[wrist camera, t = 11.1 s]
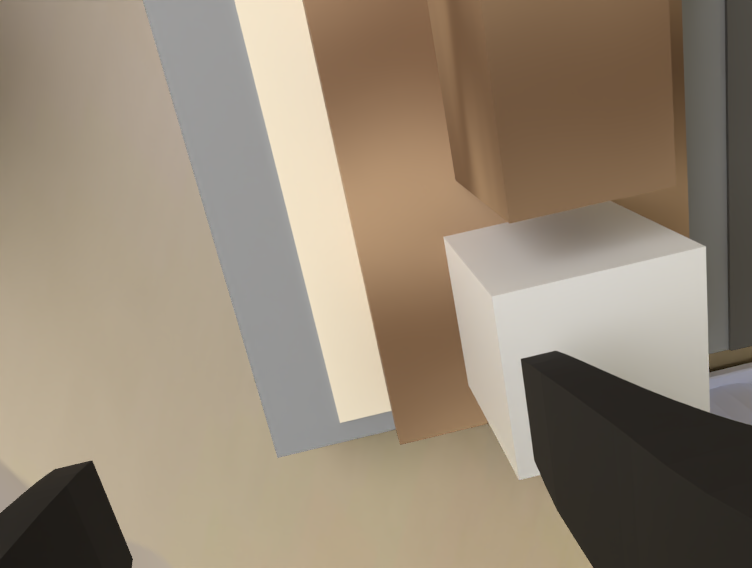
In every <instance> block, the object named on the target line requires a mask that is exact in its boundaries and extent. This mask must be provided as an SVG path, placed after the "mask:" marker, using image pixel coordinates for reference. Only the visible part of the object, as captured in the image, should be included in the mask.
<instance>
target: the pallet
mask: <svg viewBox="0 0 752 568" xmlns="http://www.w3.org/2000/svg"><path fill="white" fill-rule="evenodd" d="M302 2H303V7H304V11H305V16H306V20H307V25H308V30H309V34H310V39H311V43H312V48H313V53H314V57H315V62H316V66H317V71H318V75H319V80H320V85H321V89H322V94H323V98H324V103H325V108H326V112H327V117H328V121H329V126H330V130H331V135H332V140H333V144H334V149H335V153H336V158H337V163H338V167H339V172H340V176H341V181H342V186H343V190H344V195H345V199H346V204H347V208H348V213H349V218H350V222H351V227H352V231H353V236H354V241H355V245H356V250H357V254H358V259H359V264H360V268H361V273H362V277H363V282H364V286H365V291H366V296H367V300H368V305H369V309H370V314H371V319H372V323H373V328H374V332H375V337H376V341H377V346H378V351H379V355H380V360H381V364H382V369H383V374H384V378H385V383H386V387H387V392H388V397H389V401H390V406H391V410H392V415H393V419H394V424H395V428H396V431H397V435H398V438H399V442H400V445H401V444H406V443H410V442H414V441H418V440H422V439H426V438H430V437H434V436H439V435H443V434H447V433H451V432H455V431H459V430H463V429H468V428H472V427H476V426H480V425H484V424H488V421H487V419H486V417H485V415H484V413H483V411H482V410H481V408H480V406H479V404H478V402H477V400H476V398H475V396H474V395H473V393H472V391H471V389H470V387H469V385H468V379H467V373H466V367H465V362H464V356H463V350H462V344H461V338H460V332H459V326H458V320H457V315H456V309H455V303H454V297H453V291H452V285H451V279H450V273H449V268H448V262H447V256H446V250H445V244H444V238H443V237H445V236H449V235H454V234H458V233H463V232H467V231H471V230H476V229H480V228H484V227H489V226H493V225H497V224H502V223H506V222H508V223H509V224H510V223H515V222H519V221H524V220H528V219H532V218H537V217H541V216H546V215H550V214H554V213H559V212H563V211H567V210H572V209H576V208H581V207H585V206H589V205H594V204H598V203H603V202H607V201H612V202H614V203H616V204H618V205H620V206H622V207H624V208H627V209H629V210H631V211H633V212H635V213H637V214H639V215H641V216H643V217H645V218H647V219H650V220H652V221H654V222H656V223H658V224H660V225H662V226H664V227H666V228H668V229H670V230H672V231H675V232H677V233H679V234H681V235H683V236H685V237H687V238H689V207H688V177H687V147H686V117H685V87H684V56H683V26H682V0H302ZM689 239H690V238H689Z"/></svg>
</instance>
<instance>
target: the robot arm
mask: <svg viewBox="0 0 752 568" xmlns="http://www.w3.org/2000/svg"><path fill="white" fill-rule="evenodd" d="M521 366H522V373H523V381H524V388H525V396H526V403H527V411H528V418H529V425H530V433H531V440H532V448H533V455H534V461H535V463H536V466H537V468H538V470H539V472H540V474H541V477H542V479H543V481H544V483H545V485H546V488H547V490H548V492H549V494H550V496H551V498H552V500H553V502H554V504H555V506H556V509H557V511H558V512H559V514H560V515H561V517H562V519H563V520H564V522H565V524H566V525H567V527H568V528H569V530H570V531H571V533H572V535H573V536H574V538H575V539H576V541H577V543H578V544H579V546H580V547H581V549H582V550H583V552H584V554H585V555H586V557H587V558H588V560H589V561H590V563H591V565H592V566H593V568H752V362H751V363H747V364H743V365H738V366H734V367H730V368H726V369H722V370H718V371H714V372H709V391H710V413H709V412H707V411H704V410H701V409H698V408H695V407H692V406H690V405H687V404H684V403H681V402H678V401H676V400H673V399H670V398H668V397H665V396H663V395H660V394H658V393H655V392H653V391H650V390H648V389H645V388H643V387H640V386H638V385H636V384H633V383H631V382H629V381H626V380H624V379H622V378H619V377H617V376H615V375H612V374H610V373H608V372H606V371H603V370H601V369H599V368H597V367H594V366H592V365H590V364H588V363H585V362H583V361H581V360H579V359H576V358H574V357H572V356H569V355H567V354H564V353H561V352H559V351H552V352H548V353H543V354H539V355H535V356H531V357H526V358H522V359H521ZM132 560H133V559H132V556H131V554H130V551H129V549H128V546H127V544H126V541H125V539H124V537H123V534H122V532H121V529H120V527H119V524H118V522H117V520H116V517H115V515H114V512H113V510H112V508H111V505H110V503H109V500H108V498H107V495H106V493H105V491H104V488H103V486H102V483H101V481H100V478H99V476H98V474H97V471H96V469H95V466H94V464H93V461H88V462H84V463H80V464H75V465H71V466H67V467H63V468H58V469H55V470H53V471H52V472H50V473H49V474H47V475H46V476H45V477H43V478H42V479H41V480H39V481H38V482H37V483H35V484H34V485H33V486H32V487H30V488H29V489H28V490H27V491H26V492H24V493H23V494H22V495H21V496H20V497H19V498H17V499H16V500H15V501H14V502H13V503H12V504H10V506H8V507H7V508H6V509H5V510H3V511H2V512H1V513H0V568H132Z"/></svg>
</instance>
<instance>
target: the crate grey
mask: <svg viewBox="0 0 752 568" xmlns="http://www.w3.org/2000/svg"><path fill="white" fill-rule="evenodd" d="M443 238H444V244H445V250H446V256H447V262H448V268H449V273H450V279H451V285H452V291H453V297H454V303H455V309H456V315H457V320H458V326H459V332H460V338H461V344H462V350H463V356H464V362H465V367H466V373H467V379H468V385H469V387H470V389H471V391H472V393H473V395H474V396H475V398H476V400H477V402H478V404H479V406H480V408H481V410H482V411H483V413H484V415H485V417H486V419H487V421H488V423H489V425H490V426H491V428H492V430H493V432H494V434H495V436H496V438H497V440H498V442H499V443H500V445H501V447H502V449H503V451H504V453H505V455H506V457H507V458H508V460H509V462H510V464H511V466H512V468H513V470H514V472H515V473H516V475H517V477H518V479H519V480H522V479H526V478H530V477H534V476H538V475H541V474H540V472H539V470H538V468H537V466H536V463H535V461H534V455H533V448H532V440H531V433H530V425H529V418H528V411H527V403H526V396H525V388H524V381H523V373H522V366H521V359H522V358H526V357H531V356H535V355H539V354H543V353H548V352H552V351H559V352H561V353H564V354H567V355H569V356H572V357H574V358H576V359H579V360H581V361H583V362H585V363H588V364H590V365H592V366H594V367H597V368H599V369H601V370H603V371H606V372H608V373H610V374H612V375H615V376H617V377H619V378H622V379H624V380H626V381H629V382H631V383H633V384H636V385H638V386H640V387H643V388H645V389H648V390H650V391H653V392H655V393H658V394H660V395H663V396H665V397H668V398H670V399H673V400H676V401H678V402H681V403H684V404H687V405H690V406H692V407H695V408H698V409H701V410H704V411H707V412H709V413H710V391H709V352H708V313H707V273H706V246H704V245H702V244H700V243H698V242H695V241H693V240H691V239H689V238H687V237H685V236H683V235H681V234H679V233H677V232H675V231H672V230H670V229H668V228H666V227H664V226H662V225H660V224H658V223H656V222H654V221H652V220H650V219H647V218H645V217H643V216H641V215H639V214H637V213H635V212H633V211H631V210H629V209H627V208H624V207H622V206H620V205H618V204H616V203H614V202H612V201H607V202H603V203H598V204H594V205H589V206H585V207H581V208H576V209H572V210H567V211H563V212H559V213H554V214H550V215H546V216H541V217H537V218H532V219H528V220H524V221H519V222H515V223H510V224H509V223H508V222H506V223H502V224H497V225H493V226H489V227H484V228H480V229H476V230H471V231H467V232H463V233H458V234H454V235H449V236H445V237H443Z"/></svg>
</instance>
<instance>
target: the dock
mask: <svg viewBox="0 0 752 568" xmlns="http://www.w3.org/2000/svg"><path fill="white" fill-rule="evenodd" d="M143 3H144V6H145V9H146V13H147V16H148V20H149V23H150V26H151V30H152V33H153V37H154V40H155V43H156V47H157V50H158V54H159V57H160V60H161V64H162V67H163V71H164V74H165V77H166V81H167V84H168V87H169V91H170V94H171V98H172V101H173V104H174V108H175V111H176V115H177V118H178V121H179V125H180V128H181V132H182V135H183V138H184V142H185V145H186V149H187V152H188V155H189V159H190V162H191V165H192V169H193V172H194V176H195V179H196V182H197V186H198V189H199V193H200V196H201V199H202V203H203V206H204V210H205V213H206V216H207V220H208V223H209V227H210V230H211V233H212V237H213V240H214V243H215V247H216V250H217V254H218V257H219V260H220V264H221V267H222V271H223V274H224V277H225V281H226V284H227V288H228V291H229V294H230V298H231V301H232V305H233V308H234V311H235V315H236V318H237V321H238V325H239V328H240V332H241V335H242V338H243V342H244V345H245V349H246V352H247V355H248V359H249V362H250V366H251V369H252V372H253V376H254V379H255V383H256V386H257V389H258V393H259V396H260V399H261V403H262V406H263V410H264V413H265V416H266V420H267V423H268V427H269V430H270V433H271V437H272V440H273V444H274V447H275V450H276V454H277V457H278V458H279V457H283V456H287V455H291V454H295V453H299V452H303V451H308V450H312V449H316V448H320V447H324V446H328V445H333V444H337V443H341V442H345V441H349V440H353V439H358V438H362V437H366V436H370V435H374V434H378V433H383V432H387V431H391V430H395V429H396V428H395V424H394V419H393V415H392V410H391V406H390V401H389V397H388V392H387V387H386V383H385V378H384V374H383V369H382V364H381V360H380V355H379V351H378V346H377V341H376V337H375V332H374V328H373V323H372V319H371V314H370V309H369V305H368V300H367V296H366V291H365V286H364V282H363V277H362V273H361V268H360V264H359V259H358V254H357V250H356V245H355V241H354V236H353V231H352V227H351V222H350V218H349V213H348V208H347V204H346V199H345V195H344V190H343V186H342V181H341V176H340V172H339V167H338V163H337V158H336V153H335V149H334V144H333V140H332V135H331V130H330V126H329V121H328V117H327V112H326V108H325V103H324V98H323V94H322V89H321V85H320V80H319V75H318V71H317V66H316V62H315V57H314V53H313V48H312V43H311V39H310V34H309V30H308V25H307V20H306V16H305V11H304V7H303V2H302V0H143ZM682 26H683V56H684V87H685V117H686V147H687V177H688V207H689V238H690V239H691V240H693V241H695V242H698V243H700V244H702V245H704V246H706V273H707V313H708V352H709V354H712V353H716V352H720V351H724V350H728V349H729V350H730V351H732V350H736V349H740V348H744V347H749V346H752V0H682Z"/></svg>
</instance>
